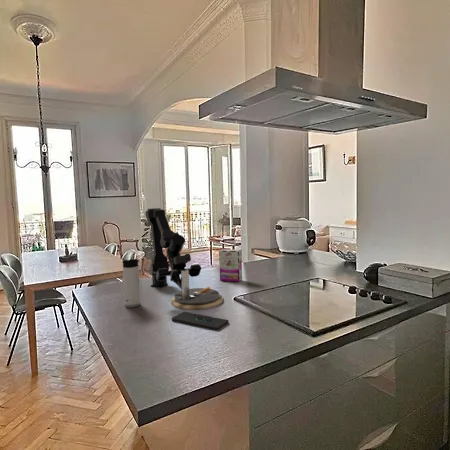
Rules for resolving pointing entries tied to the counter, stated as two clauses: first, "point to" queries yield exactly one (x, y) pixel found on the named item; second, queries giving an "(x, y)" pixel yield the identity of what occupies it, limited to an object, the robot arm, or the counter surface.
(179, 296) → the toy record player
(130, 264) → the travel mug
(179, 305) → the oak stand
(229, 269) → the candy bar box
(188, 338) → the counter surface
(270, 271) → the counter surface
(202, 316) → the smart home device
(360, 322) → the counter surface
